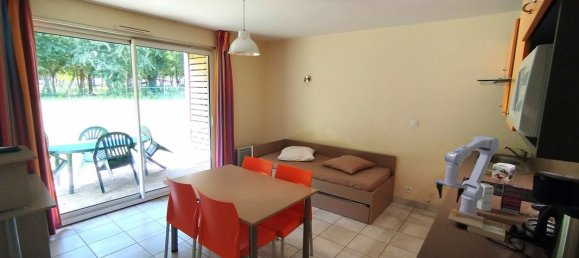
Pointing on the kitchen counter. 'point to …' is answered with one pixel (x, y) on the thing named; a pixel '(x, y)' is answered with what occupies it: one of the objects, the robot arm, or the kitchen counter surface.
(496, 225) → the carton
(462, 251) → the kitchen counter surface
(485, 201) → the syrup box
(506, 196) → the supplement box
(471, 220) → the lid panel
